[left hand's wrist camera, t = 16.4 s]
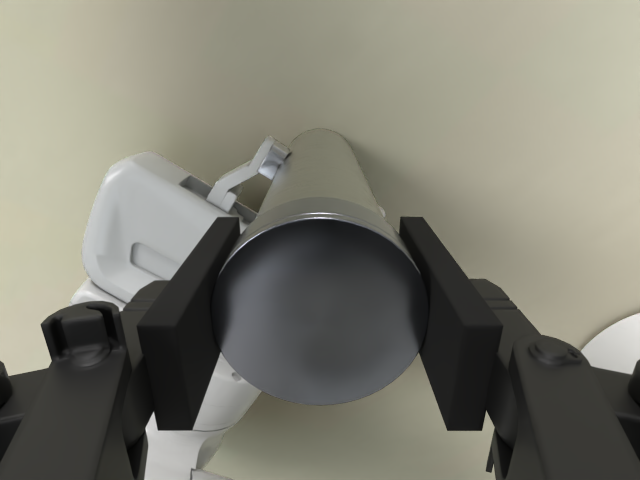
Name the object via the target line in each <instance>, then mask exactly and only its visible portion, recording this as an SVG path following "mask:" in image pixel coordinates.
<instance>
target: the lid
mask: <svg viewBox="0 0 640 480" xmlns="http://www.w3.org/2000/svg"><path fill="white" fill-rule="evenodd" d="M429 309H430V308H429V299H428V293H427V290H426V286H425V283H424V280H423V278H422V276H421V274H420V271H419V269H418V268H417V266H416V264H415V262H414V260H413V258H412V256H411V254H410V252H409V250H408V248H407V246H406V245H405V243H404V241H403V240H402V238H401V237H400V235H399V234H398V233H397V232H396V230H395V229H394V228H393V227H392V226H391V225H390V224H389V223H388V222H387V221H386V220H384V219H383V218H382V217H381V216H379V215H378V214H376V213H375V212H373V211H372V210H370V209H368V208H366V207H364V206H361V205H359V204H356V203H353V202H350V201H347V200H343V199H338V198H330V197H309V198H302V199H297V200H292V201H289V202H286V203H283V204H280V205H278V206H276V207H274V208H272V209H270V210H268V211H266V212H265V213H263V214H262V215H260V216H259V217H257V218H256V219H255V220H254V221H253V222H252V223H251V224H249V225H248V226H247V228H246V229H245V230H244V231H243V232H242V233H241V235H240V236H239V238H238V239H237V241H236V242H235V244H234V246H233V248H232V249H231V251H230V253H229V255H228V257H227V259H226V261H225V263H224V265H223V267H222V269H221V271H220V273H219V275H218V277H217V279H216V282H215V284H214V288H213V292H212V295H211V304H210V313H211V322H212V330H213V334H214V337H215V340H216V343H217V345H218V347H219V349H220V351H221V353H222V355H223V356H224V358H225V359H226V360H227V362H228V363H229V365H230V366H231V367H232V368H233V369H234V370H235V371H236V372H237V373H238V374H239V375H240V376H241V377H242V378H243V379H245V380H246V381H247V382H248V383H250V384H251V385H253V386H254V387H256V388H257V389H259V390H261V391H263V392H265V393H267V394H269V395H271V396H274V397H277V398H279V399H282V400H286V401H290V402H293V403H300V404H306V405H334V404H340V403H346V402H350V401H354V400H358V399H360V398H363V397H366V396H368V395H371V394H373V393H375V392H377V391H379V390H381V389H382V388H384V387H385V386H387V385H388V384H390V383H391V382H393V381H394V380H395V379H396V378H397V377H399V376H400V375H401V374H402V373H403V372H404V371H405V370H406V369H407V368H408V366H409V365H410V364H411V363H412V361H413V360H414V358H415V357H416V356H417V354H418V352H419V350H420V348H421V346H422V344H423V341H424V339H425V336H426V333H427V328H428V320H429Z"/></svg>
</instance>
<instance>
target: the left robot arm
mask: <svg viewBox="0 0 640 480" xmlns="http://www.w3.org/2000/svg"><path fill="white" fill-rule="evenodd" d="M240 235H241V233H240V221H239V217H217V218H216V219H215V221H214V222H213V223H212V225H211V226H210V227H209V229H208V230H207V232H206V233H205V234H204V236H203V237H202V238H201V240H200V241H199V242H198V244H197V245H196V246H195V248H194V249H193V250H192V252H191V253H190V254H189V256H188V257H187V258H186V260H185V261H184V262H183V264H182V265H181V266H180V268H179V269H178V270H177V272H176V273H175V274H174V276H173V277H172V278H171V280H154V281H153V282H151V283H149V284H148V285H146V286H144V287H143V288H141V289H139V291H138V292H137V293H136V294H135V295H134V296H133V298H132V299H131V301H130V302H128V303H127V304H126V306H125V307H124V308H123V311H119V307H118V306H117V305H115V304H114V303H112V302H107V301H88V302H83V303H79V304H74V305H71V306H69V307H66V308H63V309H61V310H59V311H57V312H55V313H54V314H52V315H50V316H49V317H47V318H46V319H45V320H44V321H43V322H42V323H41V327H42V331H43V334H44V337H45V340H46V343H47V347H48V350H49V353H50V356H51V360H52V362H51V364H50V366H49V368H46V369H42V370H37V371H32V372H27V373H22V374H17V375H12V376H8V374H7V371H6V369H5V366H4V363H2V362H1V361H0V480H144V477H145V469H146V462H147V454H148V439H147V434H146V429H145V428H146V426H147V424H148V422H149V420H150V418H151V416H152V414H153V412H154V415H155V419H156V424H157V429H158V431H192V430H193V427H194V425H195V422H196V419H197V416H198V414H199V411H200V408H201V405H202V403H203V400H204V397H205V394H206V392H207V389H208V386H209V383H210V381H211V378H212V375H213V372H214V370H215V367H216V364H217V361H218V359H219V356H220V353H221V351H220V349H219V347H218V345H217V343H216V340H215V337H214V334H213V330H212V322H211V313H210V304H211V295H212V292H213V288H214V284H215V282H216V279H217V277H218V275H219V273H220V271H221V269H222V267H223V265H224V263H225V261H226V259H227V257H228V255H229V253H230V251H231V249H232V248H233V246H234V244H235V242H236V241H237V239H238V238H239V236H240ZM399 235H400V237H401V238H402V240H403V241H404V243H405V245H406V246H407V248H408V250H409V252H410V254H411V256H412V258H413V260H414V262H415V264H416V266H417V268H418V269H419V271H420V274H421V276H422V278H423V280H424V283H425V286H426V290H427V293H428V299H429V308H430V309H429V320H428V328H427V333H426V336H425V339H424V341H423V344H422V346H421V348H420V350H419V354H420V356H421V359H422V362H423V365H424V367H425V370H426V373H427V376H428V378H429V381H430V384H431V387H432V390H433V392H434V395H435V398H436V401H437V403H438V406H439V409H440V412H441V414H442V417H443V420H444V423H445V425H446V428H447V431H482V428H483V423H484V418H485V413H486V410H487V412H488V414H489V416H490V418H491V420H492V422H493V424H494V426H495V429H494V434H493V438H492V443H491V447H490V452H489V456H488V461H487V467H486V472H490V473H491V472H492V468H493V464H494V468H495V476H496V480H640V359H639V360H638V361H637V362H636V365H635V368H634V370H633V373H632V374H627V373H622V372H617V371H612V370H607V369H602V368H597V367H593V366H591V365H590V363H589V361H588V360H587V359H586V357H585V356H584V355H583V354H582V352H580V351H579V350H577V349H576V348H575V347H573V346H572V345H570V344H568V343H566V342H564V341H561V340H559V339H557V338H553V337H549V336H545V335H541V334H540V333H539V332H538V331H537V330H536V328H535V327H534V326H533V325H532V324H531V323H530V321H529V320H528V319H527V318H526V317H525V316H524V315H523V313H522V312H521V311H520V310H519V309H517V306H516V305H515V304H514V303H513V302H512V301H510V300H509V299H510V298H509V297H508V296H507V295H506V294H505V293H504V291H503V290H502V289H501V288H500V287H498V286H496V285H495V284H493V283H491V282H490V281H488V280H486V279H468V277H467V276H466V275H465V273H464V272H463V271H462V269H461V268H460V267H459V265H458V264H457V263H456V261H455V260H454V259H453V257H452V256H451V255H450V253H449V252H448V251H447V249H446V248H445V247H444V245H443V244H442V243H441V241H440V240H439V239H438V237H437V236H436V235H435V233H434V232H433V230H432V229H431V228H430V226H429V225H428V224H427V222H426V221H425V220H424V218H423V217H401V218H400V230H399Z"/></svg>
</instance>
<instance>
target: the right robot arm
mask: <svg viewBox="0 0 640 480" xmlns="http://www.w3.org/2000/svg"><path fill="white" fill-rule="evenodd" d="M289 152H290V149H289V148H288V147H286V146H285V145H283V144H282V143H280V142H279V141H277V140H276V139H274V138H273V137H271V136H269V135H268V136H267V137H266V139H265V140H264V142H263V143H262V145H261V146H260V148H259V150H258V152H257V153H256V155H255V157H254V158H253V160H250V161H248V162H246V163H244V164H242V165H240V166H239V167H237V168H235V169H233V170H231V171H229V172H227V173H225V174H224V175H223V176H222V177H221V178H220V179H219V180H218V181H217V182H216V183H215V185H214V186H211V185H210V184H208V183H206V182H205V181H203V180H201V179H200V178H198V177H196V176H194V175H193V174H191V173H189V172H188V171H186V170H184V169H183V168H181V167H179V166H178V165H176V164H174V163H173V162H171V161H169V160H167V159H166V158H164V157H163V156H161V155H159V154H157V153H155V152H153V151H146V152H142V153H138V154H134V155H131V156H128V157H126V158H123V159H121V160H119V161H118V162H116V163H115V164H113V165H112V166H111V167H110V169H109V170H108V171H107V173H106V175H105V177H104V179H103V181H102V183H101V186H100V188H99V191H98V193H97V196H96V199H95V201H94V204H93V207H92V210H91V213H90V217H89V220H88V223H87V227H86V231H85V235H84V239H83V244H82V262H83V266H84V269H85V271H86V273H87V275H88V276H89V277H88V278H87V279H86V280H85V282H84V283H83V284H82V285H81V286H80V288H79V289H78V290H77V291H76V293H75V294H74V295H73V297H72V299H71V301H70V304H69V306H71V305H74V304H79V303H83V302H88V301H107V302H112V303H114V304H115V305H117V306H118V307H119V311H123V308H124V307H125V306H126V304H127V303H128V302H130V301H131V299H132V298H133V296H134V295H135V294H136V293H137V292H138V291H139V289H141V288H143V287H144V286H146V285H148V284H149V283H151V282H153V281H154V280H171V278H172V277H173V276H174V274H175V273H176V272H177V270H178V269H179V268H180V266H181V265H182V264H183V262H184V261H185V260H186V258H187V257H188V256H189V254H190V253H191V252H192V250H193V249H194V248H195V246H196V245H197V244H198V242H199V241H200V240H201V238H202V237H203V236H204V234H205V233H206V232H207V230H208V229H209V227H210V226H211V225H212V223H213V222H214V221H215V219H216V218H217V217H239V221H240V233H242V232H243V231H244V230H245V229H246V228H247V226H248V225H249V224H251V223H252V222H253V221H254V220H255V218H256V216H257V214H258V213H257V212H255V211H253V210H252V209H250V208H248V207H247V206H245V205H243V204H242V203H240V202H238V201H237V198H238V197H239V195H240V193H241V191H242V190H243V186H242V185H241V184H240V183H242V182H244V181H246V180H248V179H249V178H251V177H253V176H255V175H257V174H259V173H260V174H262V175H264V176H265V177H267V178H269V179H270V180H273V178H274V177H275V175H276V173H277V171H278V169H279V167H280V165H281V164H282V163H283V161H284V160H285V159H286V157H287V155H288V153H289ZM379 208H380V210H381V212H382V215H383V217H384V219H385V216H386V213H385V211H384V209H383V208H381V207H380V206H379ZM580 352H582V354H583V355H584V356H585V357H586V359H587V360H588V361H589V363H590V365H591V366H593V367H597V368H602V369H607V370H612V371H617V372H622V373H627V374H632V373H633V370H634V368H635V365H636V362H637V361H638V360H639V359H640V313H638V314H635V315H632V316H629V317H627V318H625V319H622V320H620V321H618V322H616V323H615V324H613V325H611V326H609V327H608V328H606V329H605V330H603V331H602V332H600V333H599V334H598V335H597V336H595V337H594V338H593V339H592V340H591V341H590V342H589V343H588V344H587V345H586V346H585V347H584V348H583V349H582V350H581V351H580ZM261 392H262V391H261V390H259V389H257V388H256V387H254V386H253V385H251V384H250V383H248V382H247V381H246V380H245V379H243V378H242V377H241V376H240V375H239V374H238V373H237V372H236V371H235V370H234V369H233V368H232V367H231V366H230V365H229V363H228V362H227V360H226V359H225V358H224V356H223V355H222V353H220V356H219V359H218V361H217V364H216V367H215V370H214V372H213V375H212V378H211V381H210V383H209V386H208V389H207V392H206V394H205V397H204V400H203V403H202V405H201V408H200V411H199V414H198V416H197V419H196V422H195V425H194V427H193V430H192V431H158V429H157V424H156V419H155V415H154V412H153V414H152V416H151V418H150V420H149V422H148V424H147V426H146V428H145V429H146V434H147V439H148V454H147V462H146V469H145V477H144V480H233V479H230V478H227V477H224V476H220V475H217V474H214V473H211V472H208V471H204V470H203V468H204V467H205V466H206V465H207V463H208V462H209V461H210V459H211V458H212V457H213V456H214V454H215V453H216V451H217V449H218V448H219V446H220V444H221V442H222V439H223V436H224V433H225V432H226V431H227V430H229V429H230V428H231V427H233V426H234V425H235V424H236V423H237V422H238V421H239V420H240V419H241V418H242V417H243V416H244V414H245V413H246V412H247V411H248V409H249V408H250V406H251V405H252V404H253V403H254V401H255V400H256V399H257V397H258V396H259V395H260V393H261Z"/></svg>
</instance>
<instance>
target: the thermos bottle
mask: <svg viewBox="0 0 640 480" xmlns="http://www.w3.org/2000/svg"><path fill="white" fill-rule="evenodd" d="M289 149H290V152H289V153H288V155H287V157H286V159H285V160H284V161H283V163H282V164H281V165H280V167H279V169H278V171H277V173H276V175H275V177H274V179H273V182H272V184H271V186H270V188H269V190H268V192H267V194H266V197H265V199H264V201H263V203H262V205H261V207H260V209H259V212H258V214H257V216H256V218H257V217H259V216H260V215H262V214H263V213H265V212H266V211H268V210H270V209H272V208H274V207H276V206H278V205H280V204H283V203H286V202H289V201H292V200H297V199H302V198H309V197H330V198H338V199H343V200H347V201H350V202H353V203H356V204H359V205H361V206H364V207H366V208H368V209H370V210H372V211H373V212H375V213H376V214H378V215H379V216H381V217H382V218H383V219H384V217H383V215H382V212H381V210H380V208H379V206H378V204H377V202H376V200H375V197H374V195H373V193H372V191H371V189H370V187H369V184H368V182H367V180H366V178H365V176H364V174H363V172H362V169H361V167H360V165H359V163H358V161H357V159H356V157H355V154H354V152H353V150H352V148H351V146H350V145H349V143H348V142H347V141H346V140H345V139H344V138H343V137H342V136H341V135H339V134H337V133H336V132H333V131H331V130H327V129H313V130H309V131H306V132H304V133H302V134H301V135H299V136H298V137H297V138H295V139H294V140H293V142H292V143H291V144H290V146H289ZM256 218H255V219H256ZM384 220H385V219H384Z"/></svg>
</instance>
